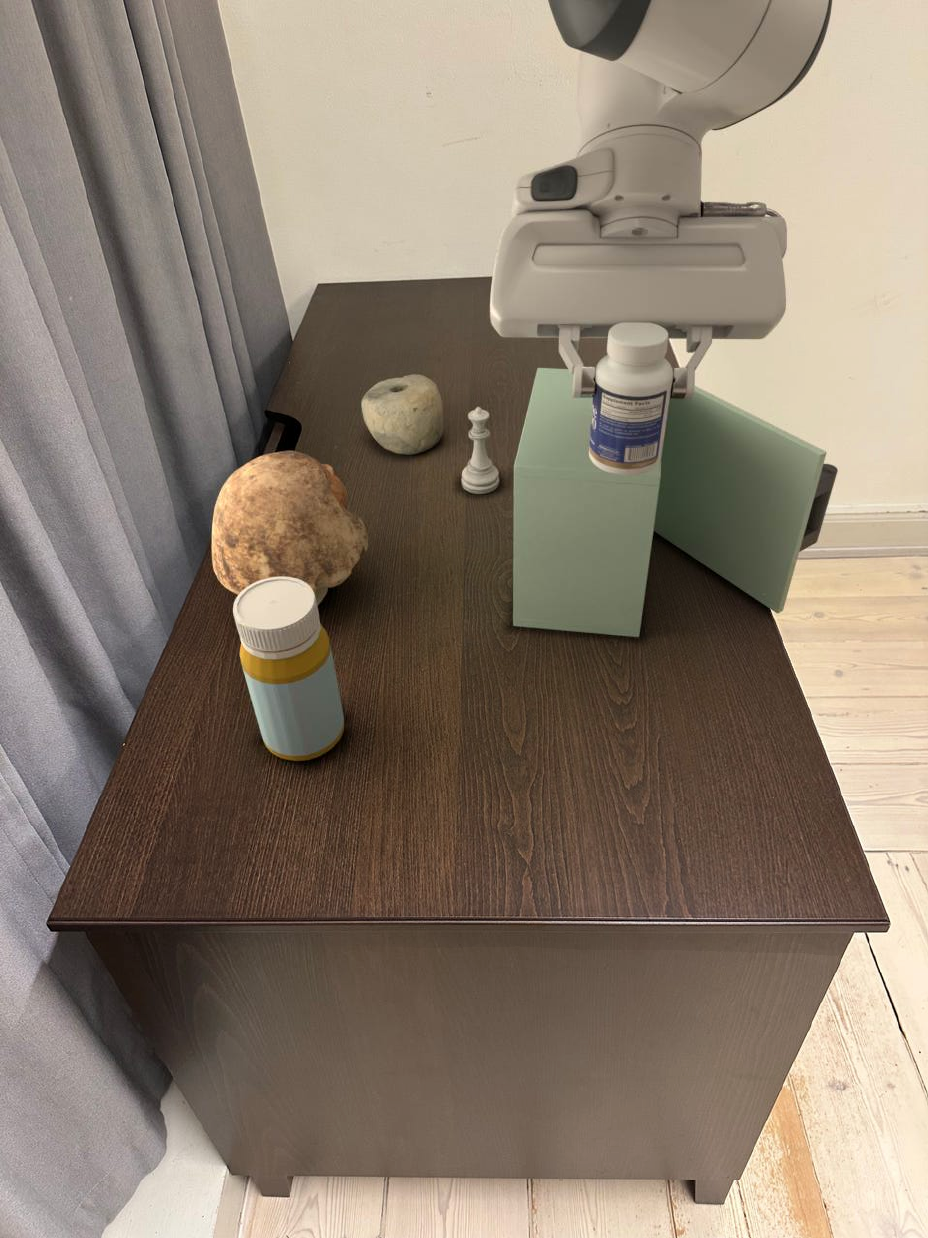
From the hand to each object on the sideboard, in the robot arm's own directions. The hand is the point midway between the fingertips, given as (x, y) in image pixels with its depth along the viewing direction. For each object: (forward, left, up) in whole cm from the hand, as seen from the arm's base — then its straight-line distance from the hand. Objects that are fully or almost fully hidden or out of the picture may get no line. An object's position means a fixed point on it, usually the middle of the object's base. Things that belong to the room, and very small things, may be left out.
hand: (631, 396), depth 62 cm
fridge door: (-12, -19, -28) cm, 36 cm away
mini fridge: (+3, -14, -28) cm, 31 cm away
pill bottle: (0, -1, -6) cm, 6 cm away
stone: (+27, -38, -28) cm, 55 cm away
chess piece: (+16, -29, -28) cm, 44 cm away
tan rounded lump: (+31, -7, -28) cm, 42 cm away
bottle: (+25, +11, -28) cm, 39 cm away
